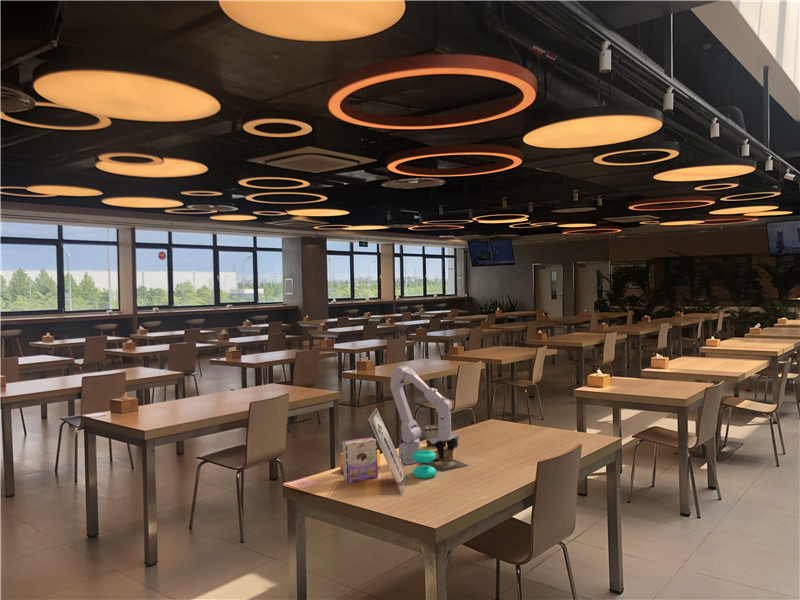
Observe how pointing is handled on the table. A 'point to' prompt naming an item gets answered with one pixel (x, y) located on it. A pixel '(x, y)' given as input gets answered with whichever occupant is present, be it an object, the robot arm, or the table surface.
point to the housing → (447, 456)
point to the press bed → (445, 465)
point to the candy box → (360, 459)
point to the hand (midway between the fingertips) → (445, 456)
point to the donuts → (424, 470)
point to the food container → (432, 434)
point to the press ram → (444, 448)
